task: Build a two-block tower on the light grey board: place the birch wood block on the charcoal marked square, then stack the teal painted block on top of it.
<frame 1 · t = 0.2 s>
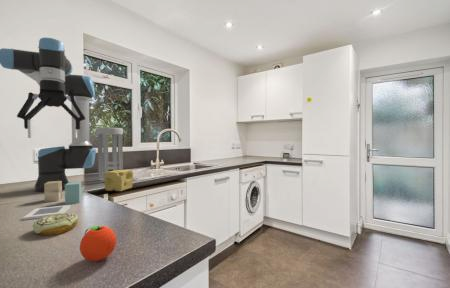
hand: (53, 138, 82), 27 cm above the counter, tool pointing down, fingers open, 13 cm apart
decorated donut: (56, 230, 64), on the counter
cheese: (119, 189, 118), on the counter
tomato: (97, 259, 47), on the counter
blueprint board: (48, 212, 79), on the counter
stool: (110, 180, 145), on the counter
teal block: (73, 202, 93), on the counter
birch block: (53, 200, 97), on the counter
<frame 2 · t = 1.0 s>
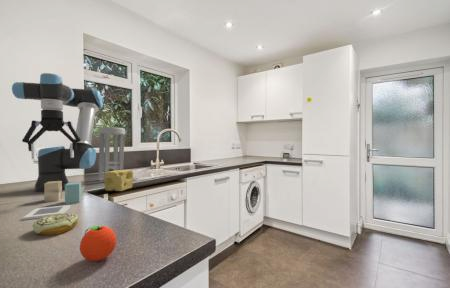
hand: (53, 158, 96), 19 cm above the counter, tool pointing down, fingers open, 13 cm apart
stool: (110, 180, 145), on the counter, touching arm
everything else where it was.
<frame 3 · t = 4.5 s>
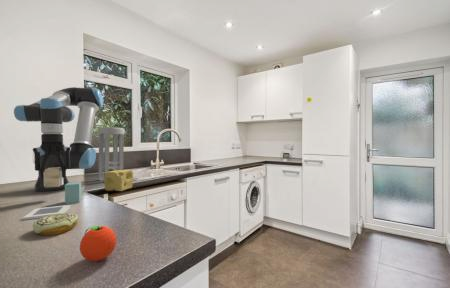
hand: (54, 185, 97), 6 cm above the counter, tool pointing down, fingers closed on birch block, 5 cm apart
stool: (110, 180, 145), on the counter
birch block: (54, 186, 97), point 6 cm above the counter, touching gripper
everything else where it was.
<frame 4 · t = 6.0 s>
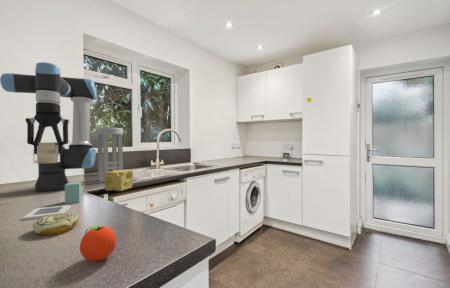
hand: (48, 162, 85), 18 cm above the counter, tool pointing down, fingers closed on birch block, 5 cm apart
birch block: (49, 162, 85), point 18 cm above the counter, touching gripper
when the fingers open (3 cm above the counter, at t = 9.4 s): birch block drops 2 cm, resting on blueprint board.
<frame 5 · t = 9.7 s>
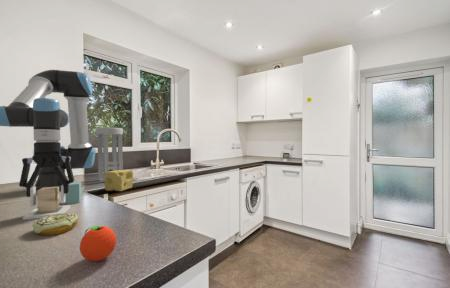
hand: (48, 203, 79), 3 cm above the counter, tool pointing down, fingers open, 8 cm apart
birch block: (49, 210, 79), point 1 cm above the counter, touching blueprint board
everything else where it was.
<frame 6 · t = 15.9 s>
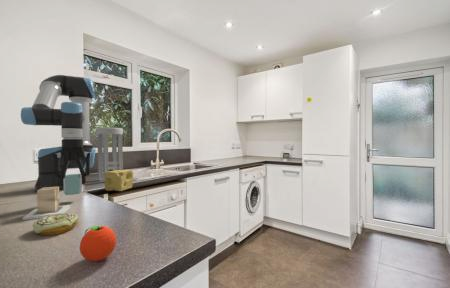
hand: (73, 192, 94), 4 cm above the counter, tool pointing down, fingers closed on teal block, 5 cm apart
teal block: (73, 193, 94), point 4 cm above the counter, touching gripper
everything else where it was.
when the fingers open (11 cm above the counter, at t = 20.1 s): teal block drops 1 cm, resting on birch block.
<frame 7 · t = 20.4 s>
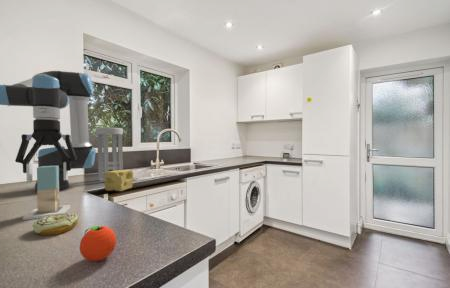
hand: (48, 180, 79), 12 cm above the counter, tool pointing down, fingers open, 10 cm apart
teal block: (48, 188, 79), point 9 cm above the counter, touching birch block
birch block: (49, 210, 79), point 1 cm above the counter, touching blueprint board, teal block
everything else where it was.
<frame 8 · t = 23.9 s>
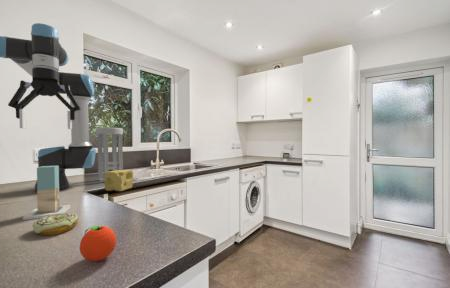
hand: (47, 128, 78), 31 cm above the counter, tool pointing down, fingers open, 13 cm apart
nothing on the counter moved.
at the end: birch block 0.2 cm off-centre on the blueprint board, point 0.9 cm above the blueprint board's base; teal block 0.3 cm off-centre on the blueprint board, point 8.9 cm above the blueprint board's base; teal block tilted 0° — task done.
